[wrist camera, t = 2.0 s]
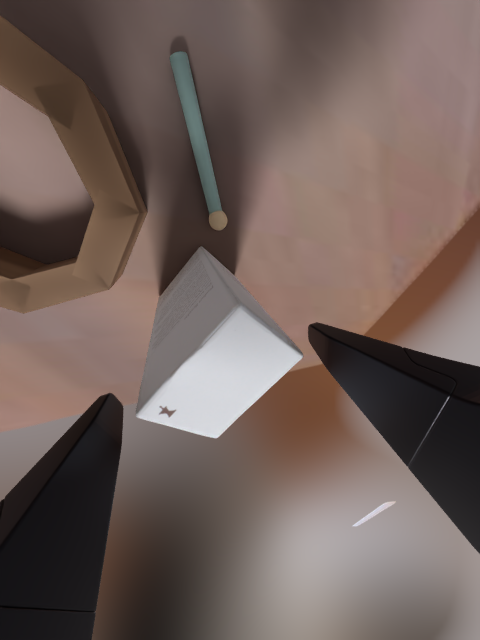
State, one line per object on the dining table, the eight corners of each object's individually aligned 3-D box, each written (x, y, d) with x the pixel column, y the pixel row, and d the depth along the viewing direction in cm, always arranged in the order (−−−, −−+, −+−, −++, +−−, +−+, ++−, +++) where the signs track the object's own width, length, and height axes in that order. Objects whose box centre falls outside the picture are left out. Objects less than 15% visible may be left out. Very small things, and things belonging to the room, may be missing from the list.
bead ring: (64, 7, 10) (14, -82, 7) (167, 261, 16) (165, 273, 13) (-255, 45, 8) (-503, -47, 5) (1, 307, 15) (-43, 332, 12)
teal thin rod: (166, 65, 11) (165, 48, 10) (190, 61, 11) (191, 44, 10) (210, 231, 16) (213, 233, 15) (227, 227, 16) (230, 228, 15)
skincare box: (196, 322, 20) (215, 443, 9) (157, 297, 17) (127, 420, 7) (237, 275, 18) (309, 357, 8) (201, 242, 16) (237, 300, 6)
